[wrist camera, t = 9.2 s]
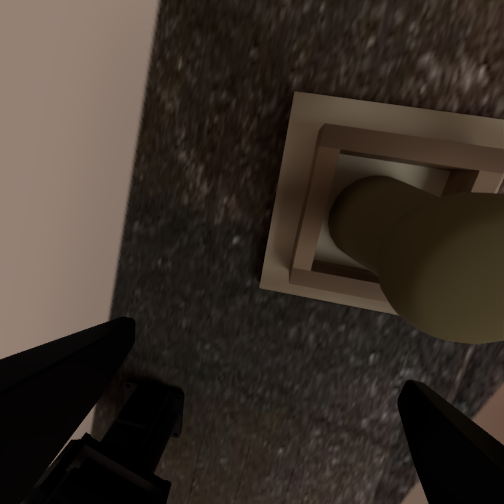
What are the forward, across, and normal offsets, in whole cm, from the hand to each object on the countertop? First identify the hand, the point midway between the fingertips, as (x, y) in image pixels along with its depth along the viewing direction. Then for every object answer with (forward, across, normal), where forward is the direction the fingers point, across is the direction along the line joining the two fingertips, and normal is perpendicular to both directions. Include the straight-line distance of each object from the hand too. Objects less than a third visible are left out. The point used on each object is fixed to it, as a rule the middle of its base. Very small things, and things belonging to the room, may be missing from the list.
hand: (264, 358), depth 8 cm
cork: (+12, -6, -4) cm, 14 cm away
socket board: (+12, -6, -4) cm, 15 cm away
